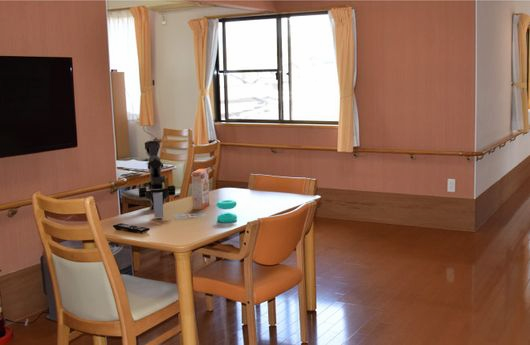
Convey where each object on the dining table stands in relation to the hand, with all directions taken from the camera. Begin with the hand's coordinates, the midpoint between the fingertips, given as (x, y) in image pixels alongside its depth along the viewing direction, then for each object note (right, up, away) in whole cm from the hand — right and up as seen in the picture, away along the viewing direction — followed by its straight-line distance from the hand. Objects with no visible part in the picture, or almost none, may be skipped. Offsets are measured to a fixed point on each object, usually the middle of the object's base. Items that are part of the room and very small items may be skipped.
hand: (158, 204), depth 328 cm
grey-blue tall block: (0, -6, +2) cm, 6 cm away
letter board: (+15, -6, +7) cm, 18 cm away
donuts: (+36, -8, -6) cm, 37 cm away
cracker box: (+19, -3, +29) cm, 35 cm away
